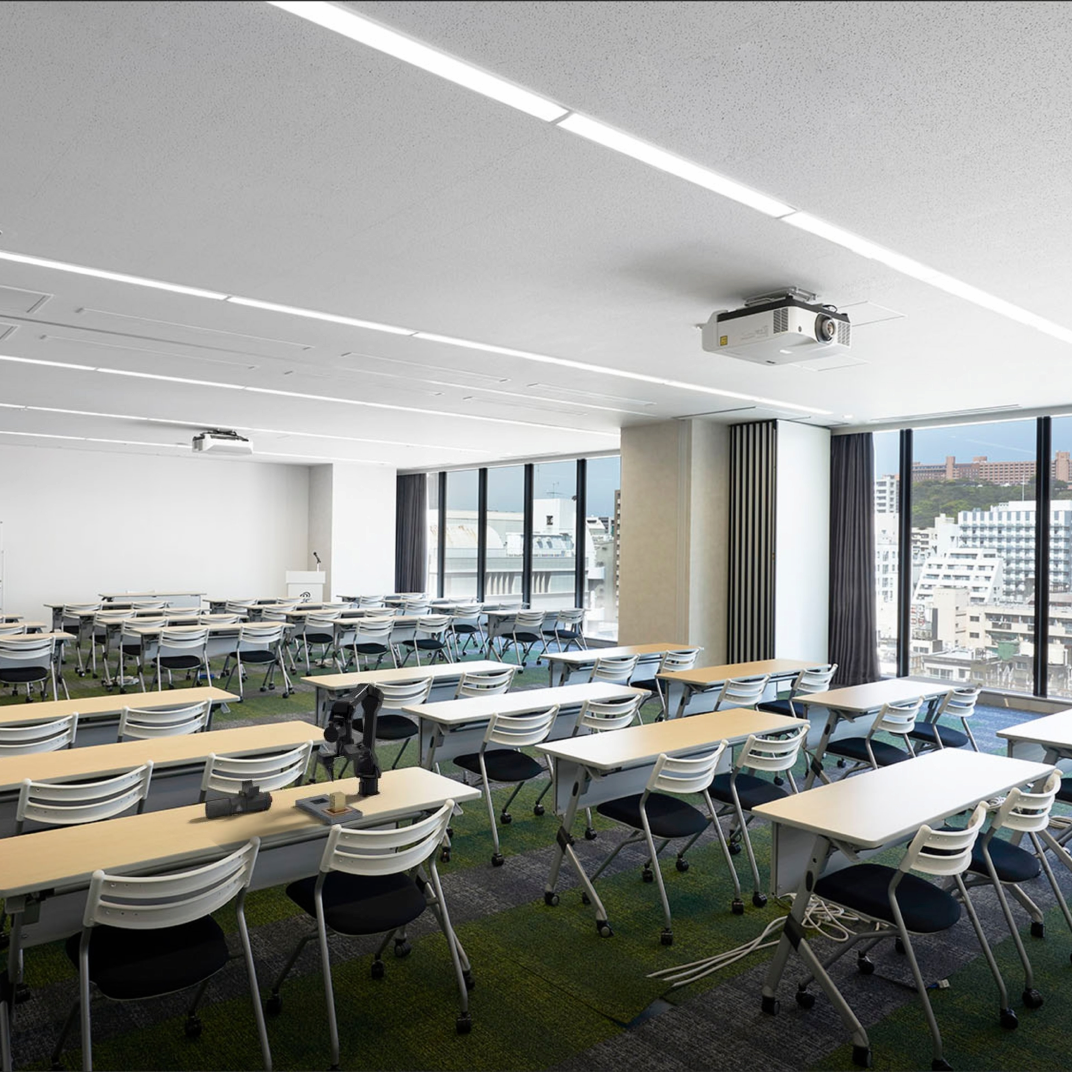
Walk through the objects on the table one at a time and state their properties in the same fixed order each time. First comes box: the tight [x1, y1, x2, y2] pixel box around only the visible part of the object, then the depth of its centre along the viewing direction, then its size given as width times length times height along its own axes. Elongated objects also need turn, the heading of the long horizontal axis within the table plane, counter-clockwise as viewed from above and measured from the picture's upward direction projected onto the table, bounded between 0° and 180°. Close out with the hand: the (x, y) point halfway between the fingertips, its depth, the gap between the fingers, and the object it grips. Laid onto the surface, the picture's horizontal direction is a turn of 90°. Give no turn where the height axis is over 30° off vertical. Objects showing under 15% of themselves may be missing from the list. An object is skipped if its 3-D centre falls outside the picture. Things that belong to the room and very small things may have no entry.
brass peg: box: [329, 790, 346, 814], centre depth 297 cm, size 4×4×8 cm
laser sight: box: [204, 779, 273, 819], centre depth 301 cm, size 10×22×10 cm, turn 124°
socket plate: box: [294, 793, 364, 826], centre depth 302 cm, size 12×28×2 cm, turn 41°
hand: (344, 778), depth 303 cm, fingers open, 9 cm apart
